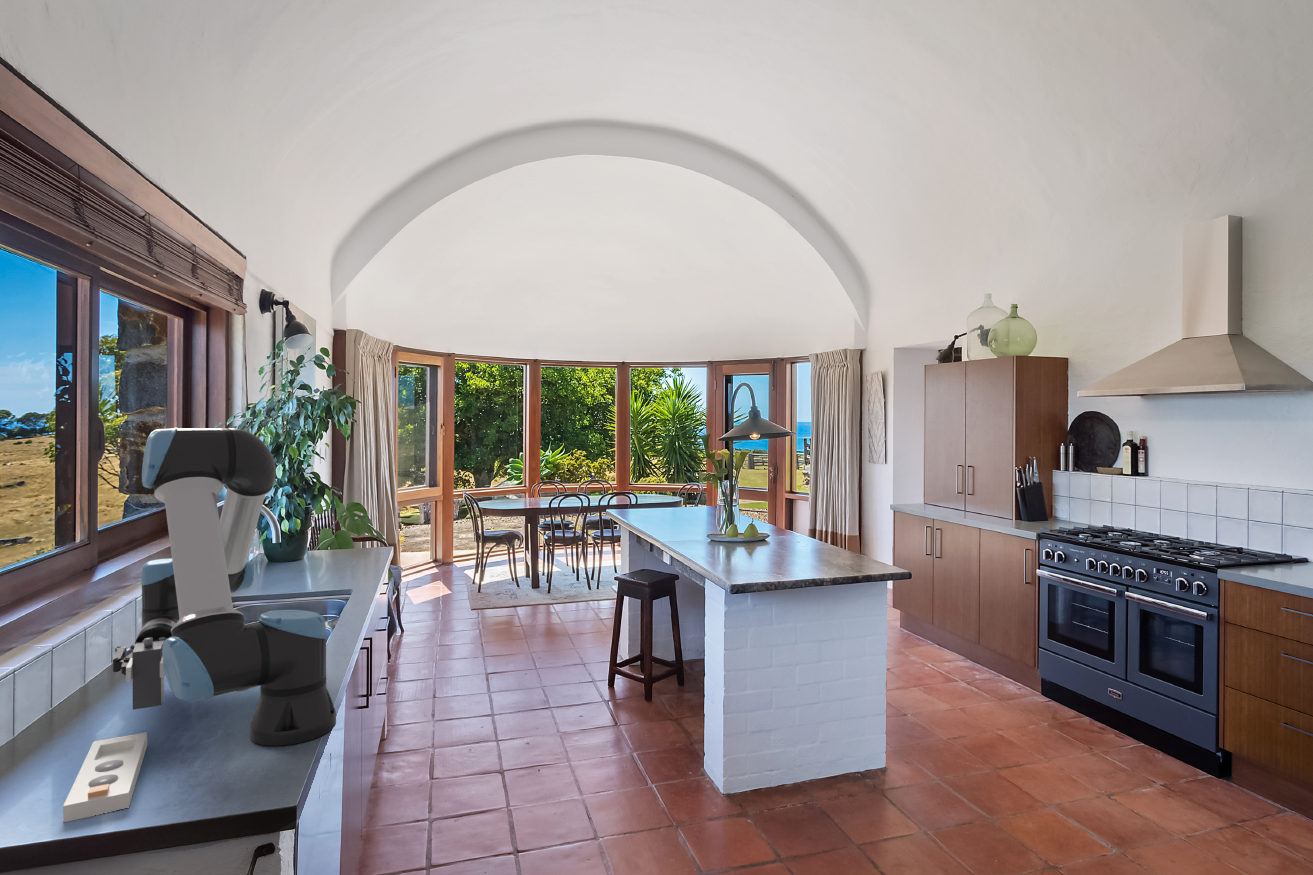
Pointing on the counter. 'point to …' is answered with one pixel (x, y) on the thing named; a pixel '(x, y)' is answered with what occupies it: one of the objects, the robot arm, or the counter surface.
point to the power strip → (106, 777)
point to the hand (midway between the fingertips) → (145, 672)
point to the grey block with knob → (147, 674)
